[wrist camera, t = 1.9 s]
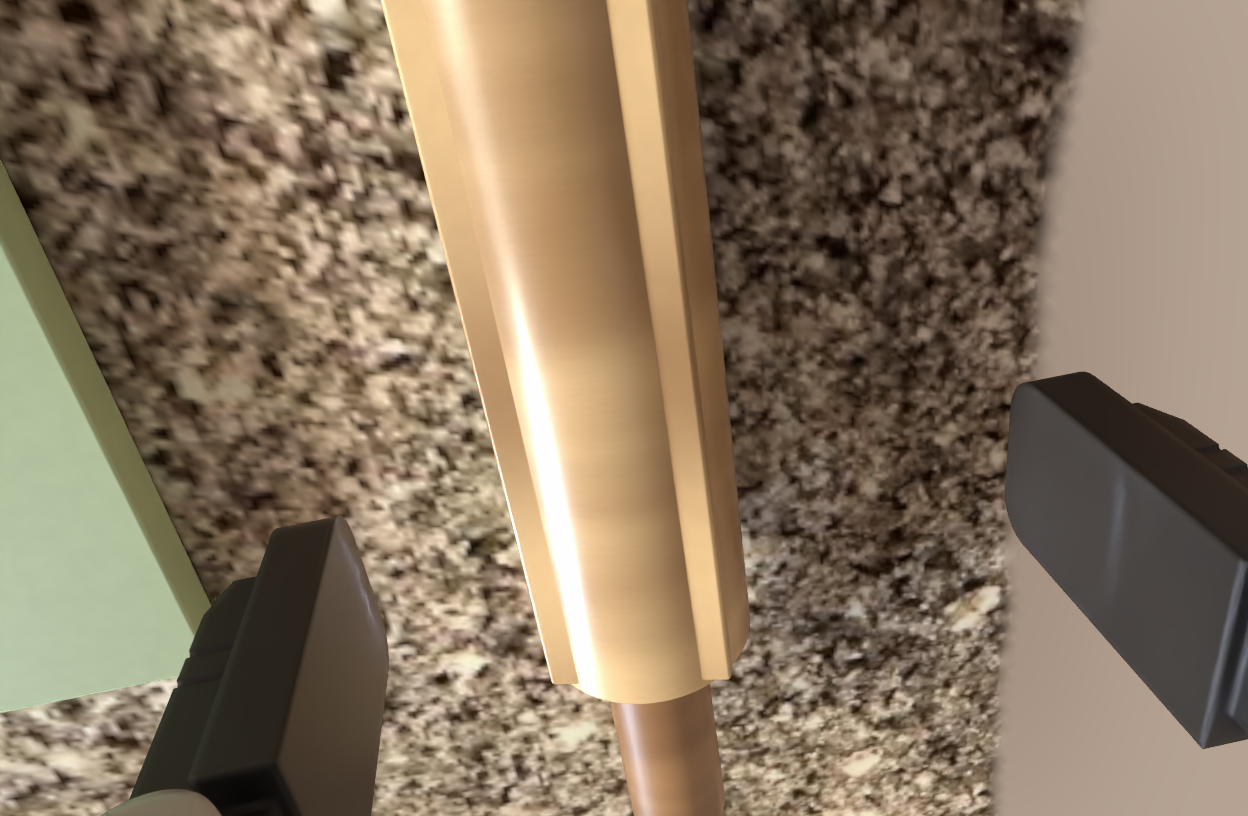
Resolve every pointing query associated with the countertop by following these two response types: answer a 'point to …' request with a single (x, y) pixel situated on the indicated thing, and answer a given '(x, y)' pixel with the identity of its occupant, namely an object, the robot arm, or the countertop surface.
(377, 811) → the countertop surface
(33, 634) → the pastry board
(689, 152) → the rolling pin
